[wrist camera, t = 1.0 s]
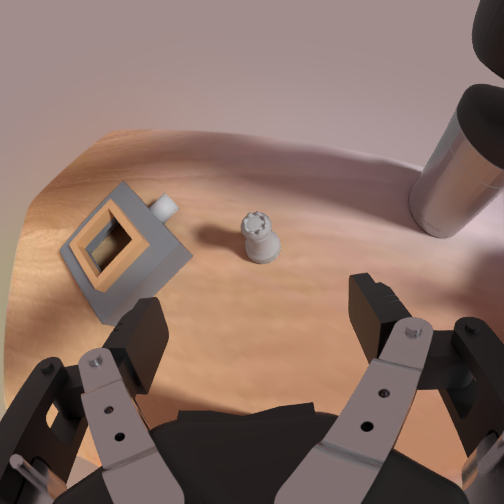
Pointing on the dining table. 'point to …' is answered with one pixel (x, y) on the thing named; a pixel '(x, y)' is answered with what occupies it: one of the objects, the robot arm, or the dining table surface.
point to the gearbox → (125, 253)
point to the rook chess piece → (260, 238)
